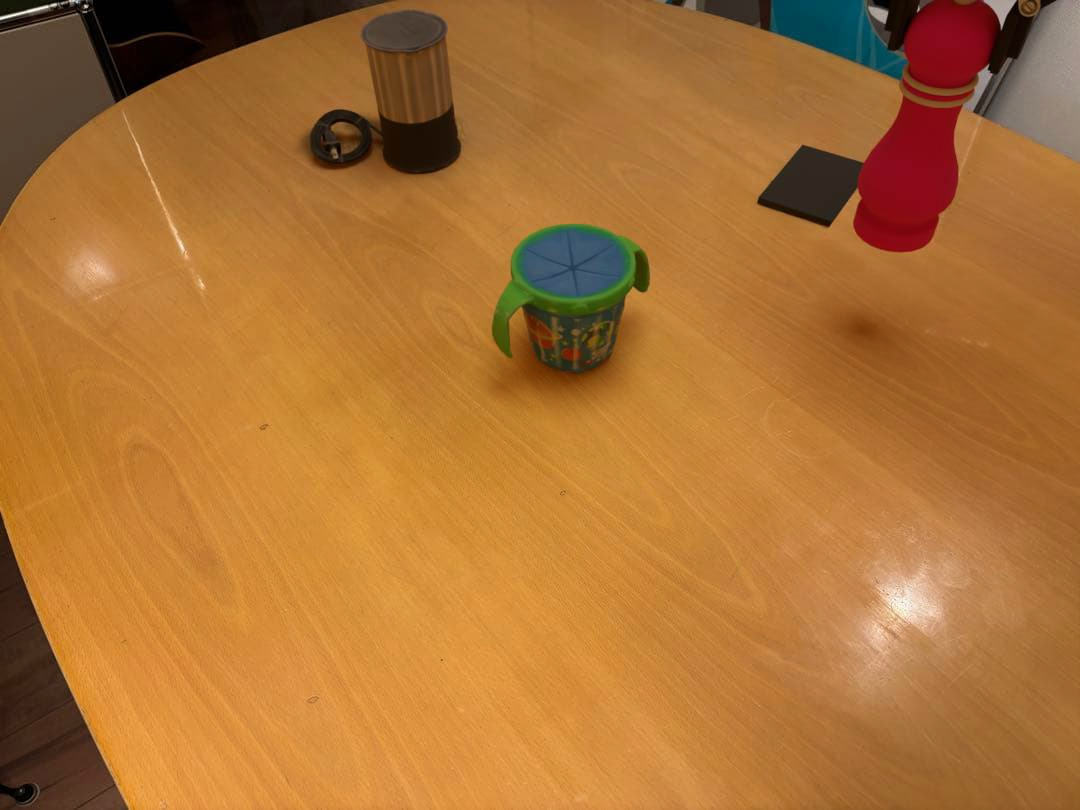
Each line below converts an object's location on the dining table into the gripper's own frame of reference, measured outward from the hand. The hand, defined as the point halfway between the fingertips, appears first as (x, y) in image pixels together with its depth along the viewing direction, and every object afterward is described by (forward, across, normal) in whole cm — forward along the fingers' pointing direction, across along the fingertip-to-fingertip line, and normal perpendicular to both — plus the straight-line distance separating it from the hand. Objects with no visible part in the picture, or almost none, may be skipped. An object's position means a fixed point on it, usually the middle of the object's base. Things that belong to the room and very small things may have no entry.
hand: (947, 51), depth 60 cm
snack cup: (+27, +22, +15) cm, 38 cm away
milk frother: (+27, +57, -1) cm, 63 cm away
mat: (+27, +6, -20) cm, 34 cm away
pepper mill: (+15, 0, 0) cm, 15 cm away
